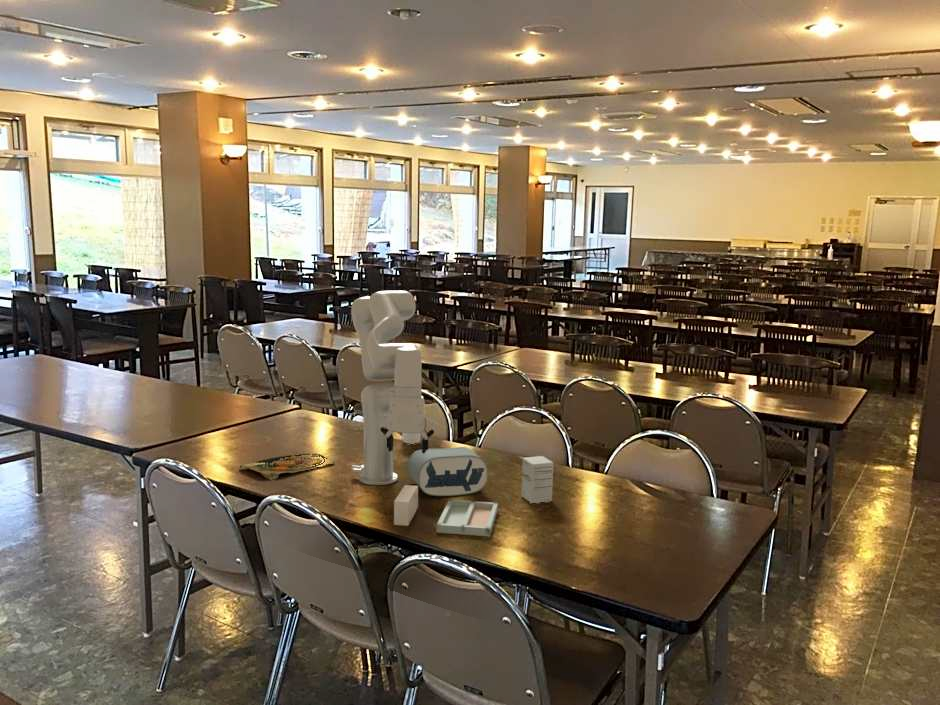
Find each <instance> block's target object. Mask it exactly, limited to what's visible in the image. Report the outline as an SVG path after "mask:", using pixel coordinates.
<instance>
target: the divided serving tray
mask: <svg viewBox="0 0 940 705" xmlns="http://www.w3.org/2000/svg"><path fill="white" fill-rule="evenodd" d="M498 509H499V503H498V502H489V501H474V500H462V499H450V498H449V499H448V501H447V503H446V504H445V507H444V509H443V511H442V513H441V514H440V517H439V519H438V521H437V523H436V533H441V534H451V535H452V534H455V535H464V536H465V535H467V536H477V537H478V536H479V537H491V533H492V531H493V527H494V523H495V521H496V518H495V517H497V514H498V511H499V510H498Z"/></svg>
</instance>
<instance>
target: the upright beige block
mask: <svg viewBox="0 0 940 705" xmlns="http://www.w3.org/2000/svg"><path fill="white" fill-rule="evenodd" d="M393 502H394V503H393V525H394V526H405V527H409V526H410V523H411V521H412V519H413V518H414V516H415V514H416V513H417V511H418V509H419V485H410V484H409V485H408V484H404V486H403V487H402V488H401V490H400V492H399V493H398V495H397V496H396V498H395V499H394V501H393ZM417 508H418V509H417ZM416 510H417V511H416Z"/></svg>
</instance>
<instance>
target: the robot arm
mask: <svg viewBox="0 0 940 705" xmlns="http://www.w3.org/2000/svg"><path fill="white" fill-rule="evenodd" d="M416 307H417V306H416V300H415V298H414V296H413V295H412V293H411V292H410V291H407V290H380V291H376V292H373V293H372V294H370V296H362V297H358V298H356V299H354V301H353V302H352V304H351V307H350V308H351V310H350V311H351V320H352V324H353V327H354V329H355V331H356V334H357V338H358V339H359V344H360V353H361V354H360V355H361V365H362V372H363V375H364V377H365V379H366V380H368V381H372V382H373V381H374V382H375V381H376V382H379V381H380V382H382V381H383V382H385V381H394V382H393V383H376V384H370V385H367V386H365V387H364V388H363V389H362V391H361V393H360V402H361V408H362V409H361V411H362V416H363V464H361V465H355V464H352V465H351V466H350V469H351V472H352V473H354V474H359V476H358V480H359V482H360V483H362V484H365V485H369V486H386V485H391V484H394V483H395V482H397V481H398V478H399V477H398V476H399V475H398V474H397V473H395V472H394V433H397V434H398V433H399V434H400V433H401V434H402V433H420V434H421V436H422V440H421V450H422V453H425V452H426V450H428V449H429V440H430V437H432V436H433V435H434V434H435V433H436V432H435V431H436V430H437V428H438V427H439V423H438V422H436V421H435V420H433V419H431V418H429V417H428V416H427V413H426V403H425V398H424V396H423V395H422V368H423V367H422V365H423V364H422V361H423V360H422V358H423V357H422V351H421V350H420V348H418V346H417V345H416V344H414V343H408V342H407V343H406V342H405V343H387V342H388V341H391V340H393V339H395V338H396V337H398V336H399V335H401V333H402V332H403V330H404V327H405V323H404V322H405V321H408V320H410V319H411V318H412V317H413V316H414V315H415V312H416V309H417V308H416ZM387 414H388V415H387ZM386 415H387V416H386ZM427 424H428V425H429V426H431V429H430V430H429V431H428V430H427V429H426V428H427Z"/></svg>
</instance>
